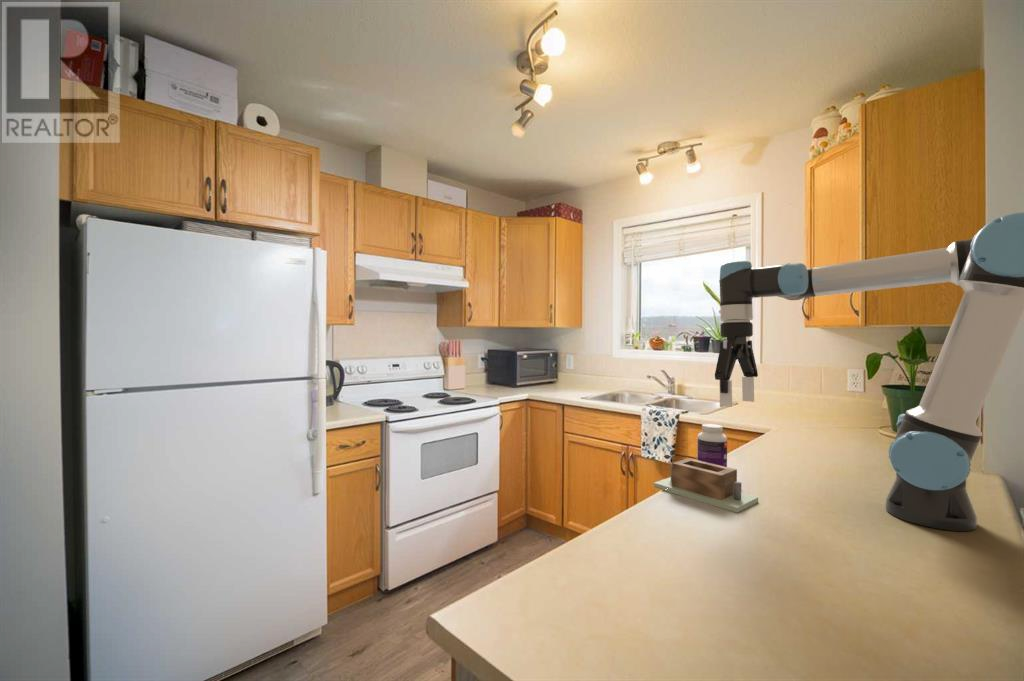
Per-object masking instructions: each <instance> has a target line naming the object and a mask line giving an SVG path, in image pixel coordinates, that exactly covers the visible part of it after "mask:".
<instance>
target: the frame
mask: <svg viewBox="0 0 1024 681" xmlns="http://www.w3.org/2000/svg"><path fill="white" fill-rule="evenodd" d="M671 466H672V486H673V487H677V488H680V489H684V490H687V491H691V492H694V493H697V494H701V495H704V496H708V497H711V498H714V499H718V500H723V499H725V498H727V497H730V496H732V495H734V482H738V479H737V478H738V469H736V468H733V467H732V468H731V467H728V466H727V467H724V466H720V465H716V464H712V463H707V462H703V461H699V460H697V459H694V458H689V457H688V458H685V459H681V460H679V461H678V460H677V461H675V462H672V463H671Z"/></svg>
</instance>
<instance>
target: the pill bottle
mask: <svg viewBox="0 0 1024 681" xmlns="http://www.w3.org/2000/svg"><path fill="white" fill-rule="evenodd" d="M723 429H724V428H723V426H722V425H719V424H714V423H703V424H701V432H699V433H698V434H697V437H696V438H697V439H696V460H699V461H703V462H707V463H712V464H716V465H720V466H724V467H728V437H727V436H726V434H724V433H723V431H724V430H723Z"/></svg>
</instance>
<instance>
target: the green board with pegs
mask: <svg viewBox="0 0 1024 681" xmlns="http://www.w3.org/2000/svg"><path fill="white" fill-rule="evenodd" d="M653 488H655V489H659V490H662V491H665V492H668V493H672V494H675V495H678V496H681V497H685V498H688V499H691V500H694V501H698V502H701V503H704V504H707V505H711V506H714V507H717V508H721V509H724V510H726V511H729V512H734V513H737V514H738V513H740V512H742V511H743V510H744V511H745V509H747V508H749V507H751V506H754V505H755V504H757V503H759V497H758V496H755V495H753V494H747V493H745V492H744V493H743V492H742V482H741V481H737V482H734V495H732V496H730V497H727V498H725V499H723V500H718V499H714V498H711V497H708V496H704V495H701V494H697V493H694V492H691V491H687V490H684V489H680V488H677V487H673V486H672V465H670V476H669V477H667V478H663V479H660V480H657V481H654V482H653ZM667 488H668V489H667ZM665 489H667V490H665Z"/></svg>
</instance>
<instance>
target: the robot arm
mask: <svg viewBox="0 0 1024 681" xmlns="http://www.w3.org/2000/svg"><path fill="white" fill-rule="evenodd" d="M718 282H719V300H720V302H719V304H720V307H719V308H720V309H719V311H718V312H719V314H720V321H721V324H720V326H719V327H720V337H722V338H726V340H720V342H719V352H718V357H717V363H716V365H715V366H716V367H715V372H714V379H715V380H719V406H720V407H729V408H730V407H733V384H732V383H733V380H732V379H731V376H732V373H733V370H734V368H735V364H736V362H737V361H738V364H739V367H740V369H741V372H742V373H743V376H741V378H742V380H741V381H742V382H741V383H742V385H741V386H742V387H741V389H742V392H741V394H742V402H751V403H754V402H755V382H754V381H755V378H758V376H759V374H758V368H757V363H756V359H755V354H754V350H753V341H752V339H749V340H747V338H751V337H752V336H753V334H754V333H753V332H754V331H753V329H754V327H753V323H752V322H751V321H752V320H754V315H753V311H754V310H753V298H756V299H757V298H765V297H766V298H769V297H770V298H771V297H772V298H773V297H779V298H781V299H782V298H783V299H785V300H788V301H799V300H802V299H806V298H814V297H821V296H823V297H824V296H834V295H839V294H850V293H851V294H852V293H857V292H858V293H859V292H867V291H868V292H869V291H877V290H878V291H879V290H886V289H894V288H895V289H896V288H905V287H913V286H922V285H923V286H924V285H931V284H941V283H952V284H954V285H956V286H959V287H960V288H961V289H962V291H963V296H962V298H961V300H960V303H959V305H958V308H957V310H956V312H955V315H954V318H953V320H952V323H951V325H950V327H949V330H948V332H947V335H946V337H945V340H944V342H943V344H942V347H941V350H940V353H939V355H938V357H937V360H936V362H935V364H934V367H933V370H932V372H931V375H930V377H929V379H928V382H927V385H926V387H925V388H924V389H925V390H924V392H923V394H922V397H921V399H920V401H919V404H918V405H917V406H916V407H913V408H909V409H908V410H906V411H905V413H900V414H899V415H898V416H897V422H896V423H895V425H896V428H897V429H896V436H895V438H894V440H893V441H892V442H891V444H890V446H889V449H888V458H889V461H890V464H891V466H892V468H893V469H894V471H895V474H896V475H895V480H894V481H893V484H892V486H891V488H890V490H889V492H888V495H887V496H886V499H885V510H886V512H887V513H889V514H890V515H891V516H894V517H896V518H898V519H900V520H904V521H907V522H909V523H913V524H917V525H918V526H919V525H920V526H922V527H927V528H933V529H938V530H943V531H952V532H970V531H975V530H976V529H977V526H978V525H977V524H978V522H977V521H978V519H977V515H976V512H975V509H974V507H973V504H972V502H971V499H970V496H969V494H968V491H967V478H968V477H969V475H970V473H971V465H972V464H971V462H972V460H973V457H974V455H975V452H976V450H977V448H978V445H979V443H980V441H981V439H982V437H983V432H982V431H981V429H980V428H979V427H978V426H977V419H978V418H979V416H980V413H981V411H982V408H983V406H984V405H985V402H986V399H987V397H988V395H989V392H990V391H991V388H992V385H993V383H994V381H995V378H996V376H997V374H998V372H999V370H1000V367H1001V364H1002V362H1003V360H1004V357H1005V355H1006V352H1007V351H1008V349H1009V346H1010V343H1011V342H1012V339H1013V336H1014V334H1015V332H1016V330H1017V327H1018V325H1019V323H1020V321H1021V319H1022V316H1023V314H1024V212H1023V211H1022V212H1013V213H1008V214H1006V215H1003V216H999V217H998V218H996V219H993V220H992V221H989V222H988V223H986V224H984V225H983V227H981V228H980V229H979V230H978V231H977V233H976V234H974V236H973V237H972V238H969V239H964V240H962V239H961V240H957V241H953V242H951V243H950V244H949V245H948V246H947V247H942V248H936V249H935V248H934V249H928V250H922V251H916V252H909V253H903V254H896V255H895V254H894V255H890V256H889V255H888V256H881V257H874V258H868V259H861V260H856V261H855V260H854V261H848V262H843V263H834V264H829V265H828V264H827V265H822V266H821V265H820V266H815V267H810V268H809V267H807V266H806V264H804V263H801V262H800V263H799V262H798V263H784V264H780V265H779V264H778V265H771V266H763V267H753V265H752V262H751V261H747V260H737V261H736V260H735V261H728V262H725V263H723V264H721V266H720V269H719V280H718Z"/></svg>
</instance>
